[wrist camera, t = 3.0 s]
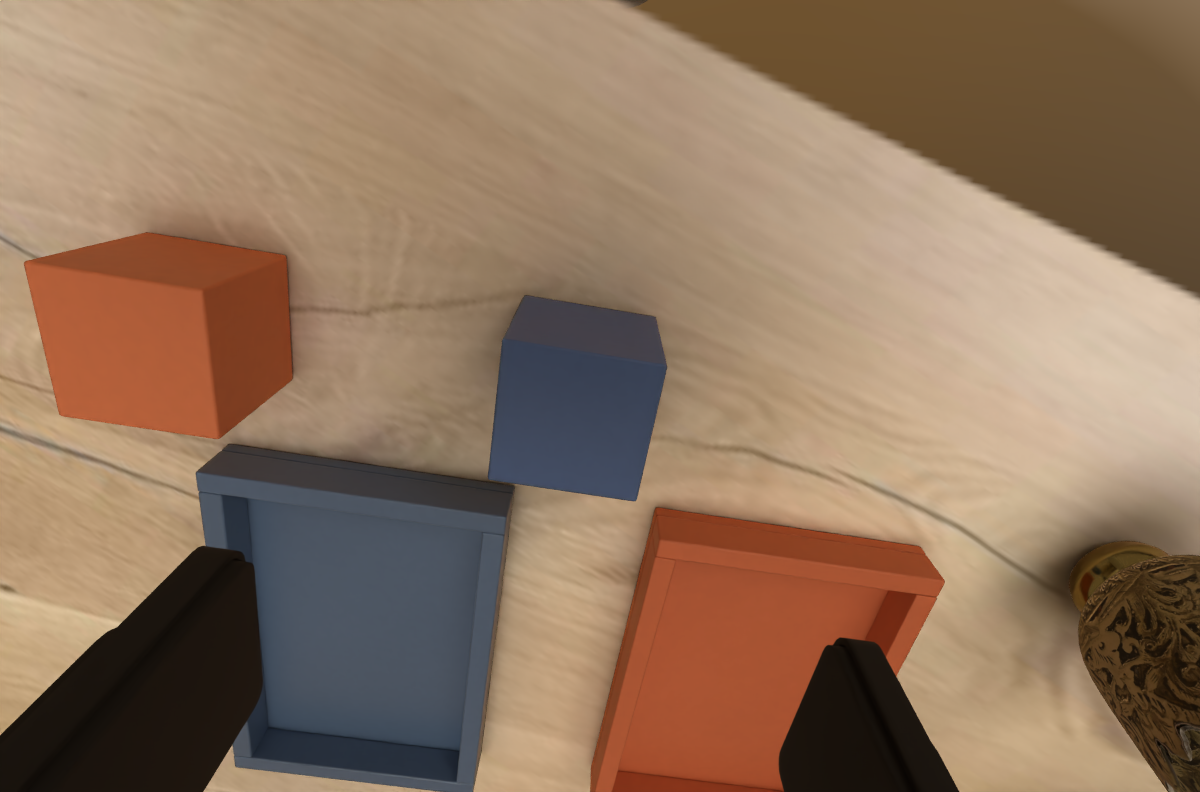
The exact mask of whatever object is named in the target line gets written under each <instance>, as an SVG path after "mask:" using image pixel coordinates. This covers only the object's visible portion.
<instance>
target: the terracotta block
mask: <svg viewBox="0 0 1200 792" xmlns="http://www.w3.org/2000/svg"><path fill="white" fill-rule="evenodd" d="M24 266H25V271H26V275H27V279H28V283H29V288H30V292H31V296H32V300H33V305H34V309H35V313H36V317H37V322H38V326H39V330H40V334H41V339H42V343H43V347H44V351H45V356H46V360H47V364H48V368H49V373H50V377H51V381H52V385H53V390H54V394H55V398H56V402H57V407H58V411H59V414H60V415H61V416H65V417H72V418H78V419H85V420H92V421H99V422H105V423H112V424H119V425H126V426H132V427H139V428H146V429H152V430H159V431H166V432H173V433H179V434H186V435H193V436H199V437H206V438H213V439H219V438H221V437H222V436H223V435H225V434H226V433H227V432H228V431H230V430H231V429H232V428H233V427H235V426H236V425H237V424H238V423H240V422H241V421H242V420H243V419H244V418H246V417H247V416H248V415H249V414H251V413H252V412H253V411H254V410H256V409H257V408H258V407H259V406H260V405H262V404H263V403H264V402H265V401H267V400H268V399H269V398H270V397H272V396H273V395H274V394H275V393H277V392H278V391H279V390H280V389H281V388H283V387H284V386H285V385H286V384H288V383H289V382H290V381H291V380H292V378H293V376H292V356H291V337H290V318H289V298H288V279H287V260H286V256H284V255H280V254H274V253H268V252H262V251H256V250H250V249H244V248H238V247H232V246H226V245H220V244H214V243H208V242H202V241H196V240H190V239H184V238H178V237H172V236H166V235H160V234H154V233H148V232H146V233H142V234H138V235H134V236H129V237H125V238H121V239H117V240H113V241H108V242H104V243H100V244H96V245H92V246H87V247H83V248H79V249H75V250H70V251H66V252H62V253H58V254H54V255H49V256H45V257H41V258H37V259H33V260H28V261H25V262H24Z"/></svg>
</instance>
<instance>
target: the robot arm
mask: <svg viewBox="0 0 1200 792" xmlns="http://www.w3.org/2000/svg"><path fill="white" fill-rule="evenodd" d="M262 687H263V676H262V663H261V649H260V636H259V623H258V609H257V596H256V583H255V569H254V565H253V564H252V563H251V562H246V561H245V556H244V554H243V553H242V552H241V551H236V550H229V549H222V548H215V547H208V546H201V547H198V548H197V549H196V550H194V551H193V552H192V553H191V554H190V555H189V556H188V557H187V558H186V559H185V560H184V561H183V562H182V563H181V564H180V565H179V566H178V567H177V568H176V569H175V570H174V571H173V572H172V573H171V574H170V575H169V576H168V577H167V578H166V579H165V580H164V581H163V582H162V583H161V584H160V585H159V586H158V587H157V588H156V589H155V590H154V591H153V592H152V593H151V594H150V595H149V596H148V597H147V598H146V599H145V600H144V601H143V602H142V603H141V604H140V605H139V606H138V607H137V608H136V609H135V610H134V611H133V612H132V613H131V614H130V615H129V616H128V617H127V618H126V619H125V620H124V621H123V622H122V623H121V624H120V625H119V626H118V627H117V628H114V629H112V630H110V631H108V632H106V633H105V634H104V635H103V636H102V637H100V638H99V639H98V640H97V641H96V642H95V643H94V644H93V645H91V646H90V647H89V648H88V649H87V650H86V651H85V652H84V653H83V654H82V655H81V656H80V657H79V658H78V659H77V660H76V661H75V662H74V663H73V664H72V665H71V666H70V667H69V668H68V669H67V670H66V671H65V672H64V673H63V674H62V675H61V676H60V677H59V678H58V679H57V680H56V681H55V682H54V683H53V684H52V685H51V686H50V687H49V688H48V689H47V690H46V691H45V692H44V693H43V694H42V695H41V696H40V697H39V698H38V699H37V700H36V701H35V702H34V703H33V704H32V705H31V706H30V707H29V708H28V709H27V710H26V711H25V712H24V713H23V714H22V715H20V716H19V717H18V718H17V719H16V720H15V721H14V722H13V723H12V724H11V725H10V726H9V727H8V728H7V729H6V730H5V731H4V732H3V733H2V734H1V735H0V792H203V791H204V790H205V788H206V786H207V785H208V783H209V781H210V780H211V778H212V777H213V775H214V773H215V772H216V770H217V769H218V767H219V765H220V764H221V762H222V760H223V759H224V757H225V756H226V754H227V752H228V751H229V749H230V748H231V746H232V744H233V743H234V741H235V739H236V738H237V736H238V735H239V733H240V731H241V730H242V728H243V726H244V725H245V723H246V722H247V720H248V718H249V717H250V715H251V714H252V712H253V710H254V709H255V707H256V705H257V703H258V700H259V698H260V695H261V692H262ZM779 774H780V778H781V782H782V786H783V790H784V792H959V791H958V789H957V787H956V785H955V783H954V781H953V779H952V777H951V776H950V774H949V772H948V770H947V768H946V766H945V764H944V762H943V761H942V759H941V757H940V755H939V753H938V752H937V750H936V749H935V747H934V746H933V744H932V743H931V741H930V739H929V737H928V736H927V734H926V732H925V730H924V728H923V726H922V724H921V722H920V720H919V719H918V717H917V715H916V713H915V711H914V709H913V707H912V705H911V704H910V702H909V700H908V698H907V696H906V694H905V692H904V690H903V688H902V687H901V685H900V683H899V681H898V679H897V677H896V675H895V673H894V672H893V670H892V668H891V666H890V664H889V662H888V660H887V658H886V656H885V655H884V653H883V651H882V649H881V648H880V646H879V645H878V644H876V643H875V642H871V641H864V640H857V639H850V638H841V637H840V638H838V639H837V640H836V641H835V642H834V644H833V645H827V646H826V647H825V648H824V650H823V652H822V654H821V657H820V659H819V661H818V664H817V666H816V668H815V670H814V673H813V675H812V677H811V680H810V682H809V684H808V687H807V689H806V691H805V694H804V696H803V698H802V701H801V703H800V705H799V708H798V710H797V712H796V715H795V717H794V719H793V722H792V724H791V726H790V729H789V731H788V733H787V736H786V738H785V740H784V742H783V745H782V747H781V750H780V753H779Z"/></svg>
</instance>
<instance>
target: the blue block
mask: <svg viewBox="0 0 1200 792" xmlns="http://www.w3.org/2000/svg"><path fill="white" fill-rule="evenodd" d="M666 370H667V364H666V359H665V355H664V351H663V347H662V342H661V338H660V334H659V330H658V325H657V321H656V317H654V316H648V315H642V314H636V313H630V312H624V311H618V310H612V309H606V308H600V307H594V306H587V305H581V304H575V303H569V302H563V301H557V300H551V299H545V298H539V297H533V296H527V295H525V296H524V297H523V299H522V301H521V303H520V305H519V307H518V309H517V311H516V313H515V315H514V317H513V319H512V321H511V323H510V325H509V327H508V329H507V331H506V333H505V336H504V338H503V340H502V346H501V356H500V365H499V375H498V384H497V394H496V404H495V413H494V423H493V432H492V442H491V452H490V461H489V471H488V479H489V480H494V481H500V482H507V483H514V484H520V485H527V486H534V487H541V488H547V489H554V490H561V491H568V492H574V493H581V494H588V495H594V496H601V497H608V498H615V499H621V500H628V501H636V500H637V496H638V492H639V487H640V483H641V479H642V474H643V470H644V466H645V461H646V457H647V453H648V448H649V444H650V440H651V435H652V431H653V427H654V422H655V418H656V414H657V409H658V405H659V401H660V396H661V392H662V388H663V383H664V379H665V375H666Z"/></svg>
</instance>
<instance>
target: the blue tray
mask: <svg viewBox="0 0 1200 792" xmlns="http://www.w3.org/2000/svg"><path fill="white" fill-rule="evenodd" d="M196 479H197V487H198V491H199V500H200V507H201V515H202V522H203V530H204V537H205V544H206V546H208V547H215V548H222V549H229V550H236V551H241V552H242V553H243V554H244V556H245V561H246V562H251V563H252V564H253V565H254V569H255V583H256V596H257V609H258V623H259V636H260V649H261V663H262V676H263V687H262V692H261V695H260V698H259V700H258V703H257V705H256V707H255V709H254V710H253V712H252V714H251V715H250V717H249V718H248V720H247V722H246V723H245V725H244V726H243V728H242V730H241V731H240V733H239V735H238V736H237V738H236V739H235V741H234V743H233V752H234V760H235V766H236V767H239V768H248V769H256V770H264V771H273V772H281V773H290V774H298V775H306V776H315V777H323V778H331V779H340V780H348V781H356V782H365V783H373V784H382V785H390V786H398V787H407V788H415V789H423V790H432V791H440V792H473V790H474V785H475V781H476V776H477V771H478V766H479V761H480V756H481V749H482V741H483V734H484V726H485V718H486V710H487V702H488V694H489V686H490V679H491V671H492V663H493V655H494V647H495V639H496V631H497V624H498V616H499V608H500V600H501V592H502V584H503V576H504V569H505V561H506V553H507V545H508V537H509V529H510V521H511V513H512V506H513V498H514V490H515V487H514V486H509V485H502V484H495V483H488V482H482V481H475V480H468V479H461V478H455V477H448V476H441V475H435V474H428V473H421V472H414V471H408V470H401V469H394V468H387V467H381V466H374V465H367V464H360V463H354V462H347V461H340V460H334V459H327V458H320V457H313V456H307V455H300V454H293V453H286V452H280V451H273V450H266V449H259V448H253V447H246V446H239V445H233V444H228V445H227V446H226V447H225V448H224V449H222V451H221V452H219V453H218V454H217V455H216V456H214V457H213V458H212V459H211V460H210V461H208V462H207V463H206V464H205V465H204V466H203V467H201V468H200V469H199V470H198V471H197V472H196Z"/></svg>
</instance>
